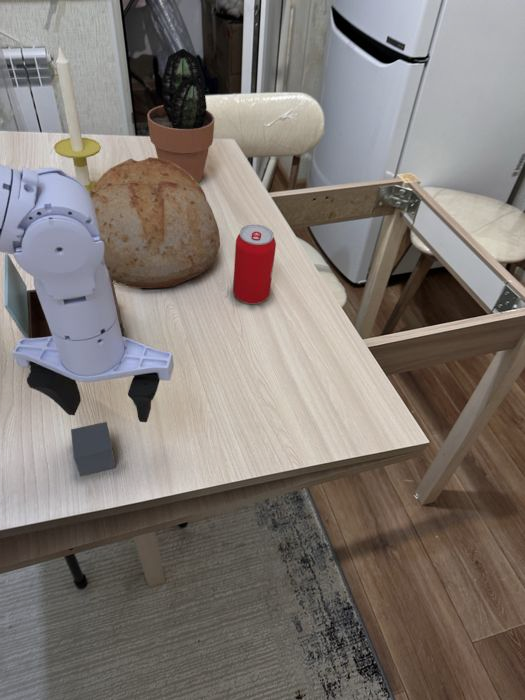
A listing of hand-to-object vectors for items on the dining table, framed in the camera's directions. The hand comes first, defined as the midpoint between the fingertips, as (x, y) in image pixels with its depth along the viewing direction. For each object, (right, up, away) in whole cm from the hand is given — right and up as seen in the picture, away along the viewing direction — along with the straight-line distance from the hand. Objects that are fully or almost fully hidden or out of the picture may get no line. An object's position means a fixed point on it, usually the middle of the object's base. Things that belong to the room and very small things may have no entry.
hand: (110, 411), depth 52 cm
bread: (-4, +25, +37) cm, 45 cm away
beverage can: (+14, +16, +30) cm, 37 cm away
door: (-15, +14, +11) cm, 23 cm away
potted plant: (-2, +45, +57) cm, 73 cm away
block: (-4, -6, +6) cm, 9 cm away
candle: (-20, +39, +48) cm, 65 cm away
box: (-10, +8, +19) cm, 23 cm away
